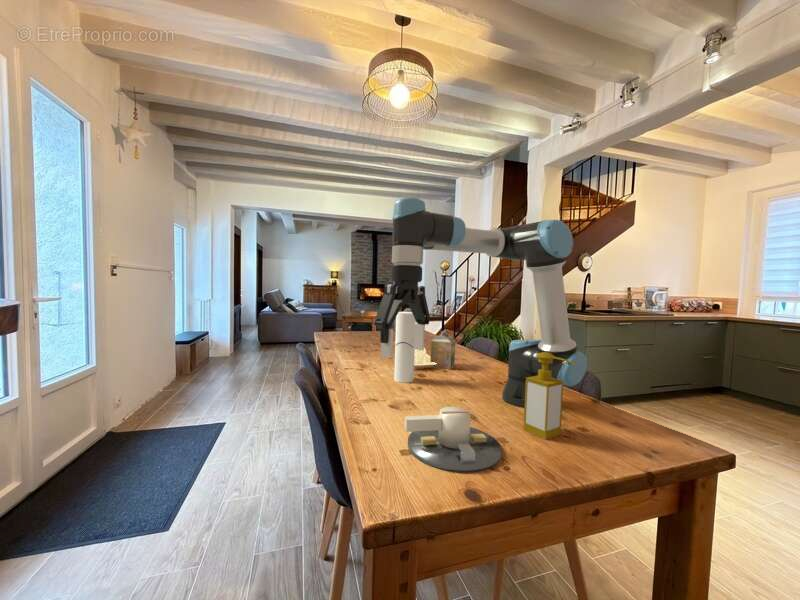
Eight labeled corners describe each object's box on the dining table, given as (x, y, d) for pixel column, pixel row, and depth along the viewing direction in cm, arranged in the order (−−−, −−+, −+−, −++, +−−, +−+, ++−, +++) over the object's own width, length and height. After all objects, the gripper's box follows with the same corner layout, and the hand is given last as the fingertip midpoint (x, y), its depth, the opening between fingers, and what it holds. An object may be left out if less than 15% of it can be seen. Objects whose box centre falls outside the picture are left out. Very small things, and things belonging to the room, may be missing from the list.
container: (411, 383, 140) (414, 313, 139) (392, 381, 142) (394, 312, 141) (414, 378, 149) (417, 312, 147) (396, 376, 150) (398, 311, 149)
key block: (478, 432, 91) (479, 405, 91) (491, 446, 83) (492, 416, 83) (402, 436, 87) (403, 407, 87) (408, 451, 79) (409, 419, 79)
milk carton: (450, 370, 165) (451, 332, 165) (430, 367, 169) (431, 331, 168) (454, 365, 175) (455, 330, 174) (435, 363, 179) (436, 328, 178)
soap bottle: (564, 448, 86) (568, 360, 85) (523, 429, 97) (527, 351, 96) (579, 442, 90) (584, 357, 89) (538, 425, 101) (542, 349, 100)
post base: (478, 425, 99) (478, 413, 99) (520, 468, 76) (521, 453, 76) (400, 428, 95) (400, 415, 95) (419, 475, 72) (419, 459, 72)
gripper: (421, 268, 91) (418, 344, 92) (360, 260, 71) (356, 358, 71) (445, 268, 86) (441, 348, 87) (387, 260, 66) (383, 364, 67)
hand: (403, 353), depth 79 cm, fingers open, 13 cm apart
